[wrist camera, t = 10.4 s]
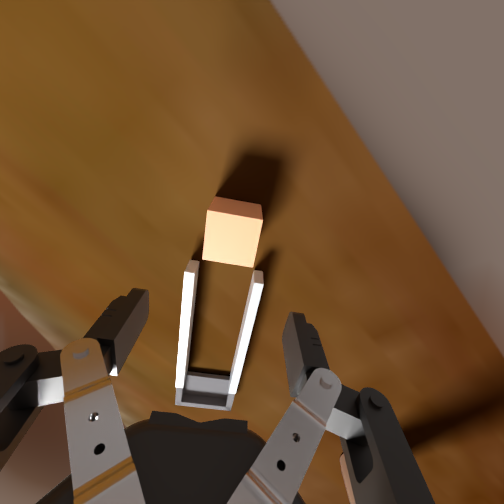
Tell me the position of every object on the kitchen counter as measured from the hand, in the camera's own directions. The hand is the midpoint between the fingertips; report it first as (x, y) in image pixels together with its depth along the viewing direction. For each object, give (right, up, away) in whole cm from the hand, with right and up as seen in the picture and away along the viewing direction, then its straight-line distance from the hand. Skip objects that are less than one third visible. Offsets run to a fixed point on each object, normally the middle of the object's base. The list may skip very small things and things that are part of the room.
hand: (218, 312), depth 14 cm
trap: (-5, -16, +22) cm, 28 cm away
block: (0, +6, +11) cm, 13 cm away
